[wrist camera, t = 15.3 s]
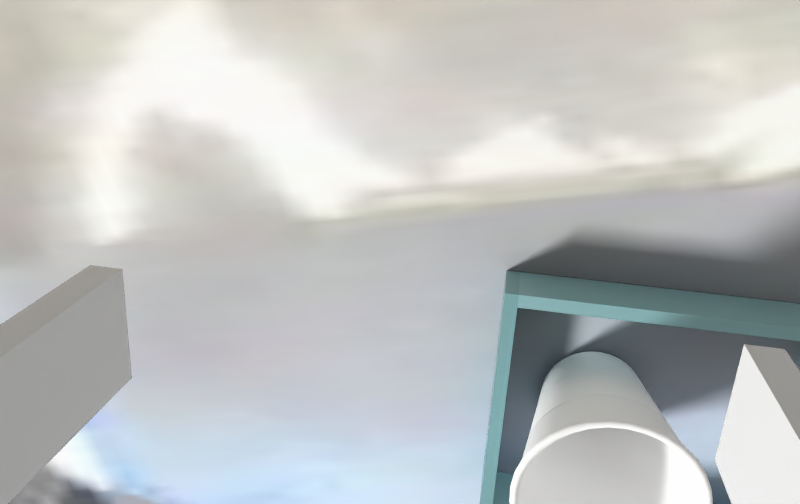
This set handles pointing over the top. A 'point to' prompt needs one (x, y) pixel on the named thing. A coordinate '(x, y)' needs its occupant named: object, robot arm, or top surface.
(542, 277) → the walled box
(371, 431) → the top surface
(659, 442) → the cup
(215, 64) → the top surface
